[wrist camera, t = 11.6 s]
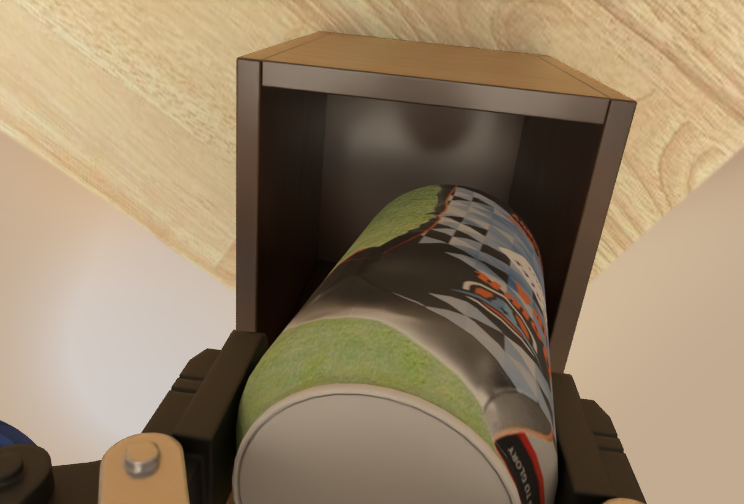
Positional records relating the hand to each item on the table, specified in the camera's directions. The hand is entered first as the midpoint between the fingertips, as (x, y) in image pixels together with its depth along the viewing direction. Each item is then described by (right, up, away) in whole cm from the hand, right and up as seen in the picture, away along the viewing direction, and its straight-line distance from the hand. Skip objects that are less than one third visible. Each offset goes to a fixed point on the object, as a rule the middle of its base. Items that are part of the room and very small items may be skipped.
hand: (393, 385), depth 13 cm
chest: (+2, +8, +20) cm, 22 cm away
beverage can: (+1, +3, +7) cm, 8 cm away
